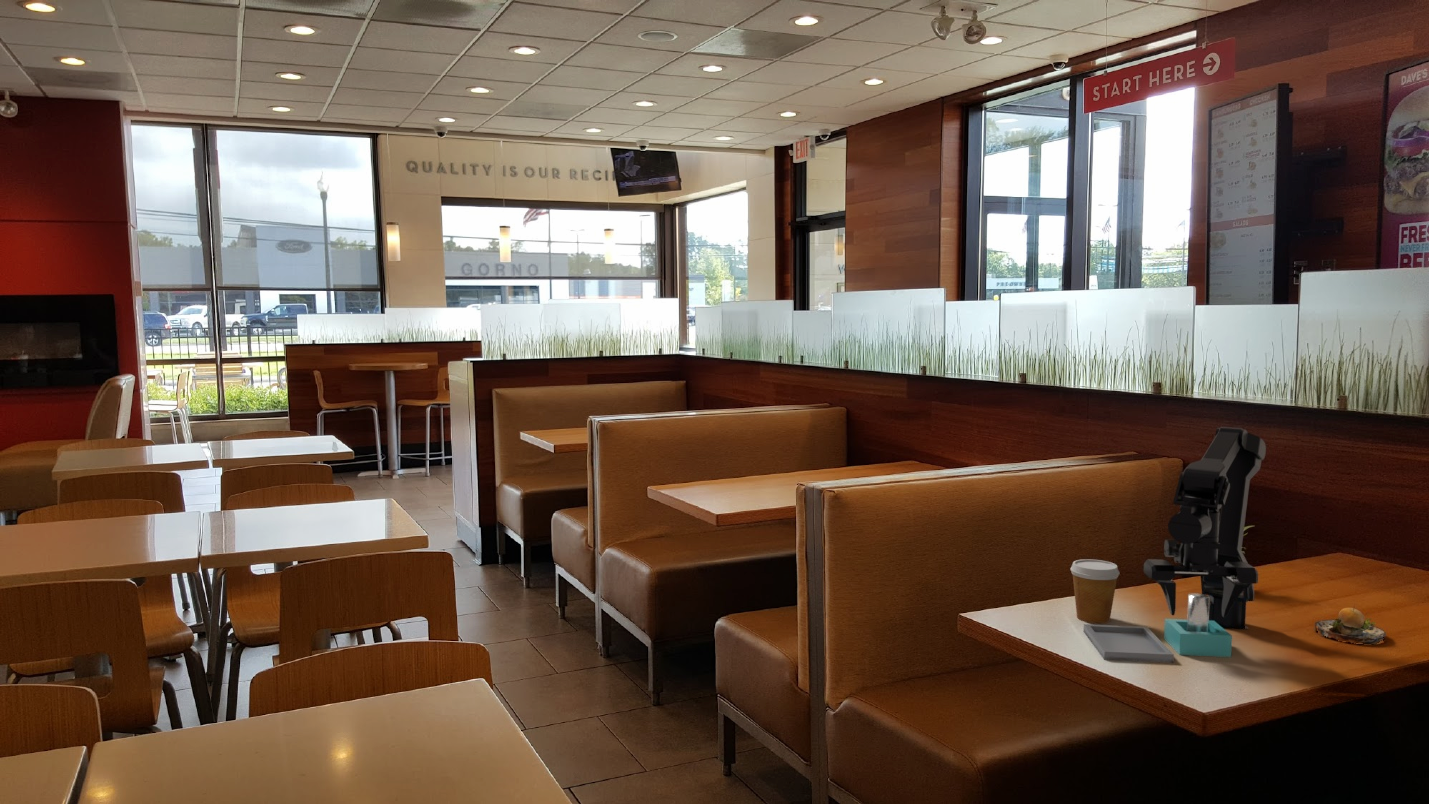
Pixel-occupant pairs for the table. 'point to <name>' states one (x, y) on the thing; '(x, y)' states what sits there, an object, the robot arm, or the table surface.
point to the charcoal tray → (1127, 643)
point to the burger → (1350, 628)
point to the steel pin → (1198, 612)
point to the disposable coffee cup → (1094, 589)
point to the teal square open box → (1197, 639)
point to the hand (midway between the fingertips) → (1198, 615)
